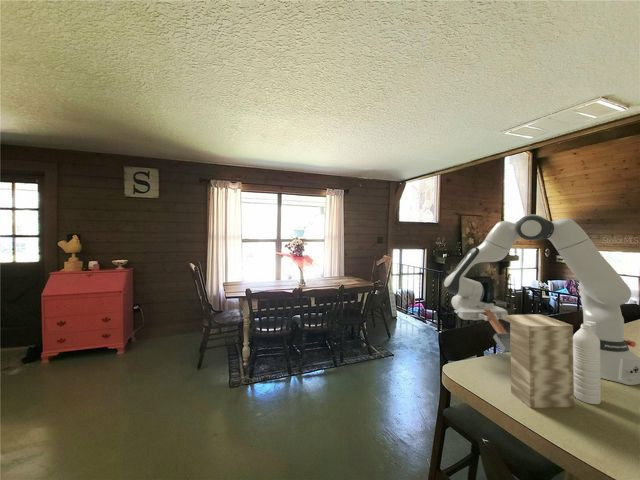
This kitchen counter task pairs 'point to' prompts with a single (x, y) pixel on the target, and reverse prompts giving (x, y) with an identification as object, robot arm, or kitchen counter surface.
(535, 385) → the stand
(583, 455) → the kitchen counter surface
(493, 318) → the shovel
